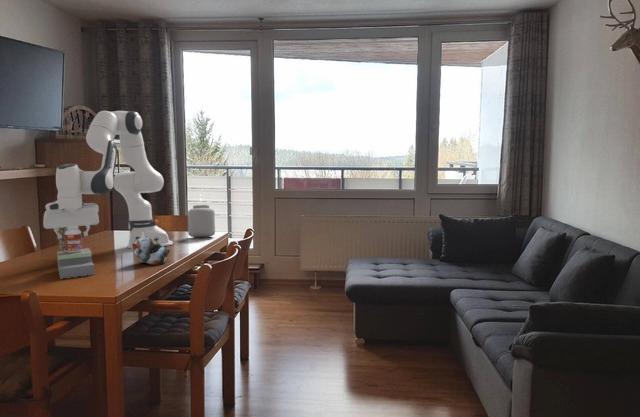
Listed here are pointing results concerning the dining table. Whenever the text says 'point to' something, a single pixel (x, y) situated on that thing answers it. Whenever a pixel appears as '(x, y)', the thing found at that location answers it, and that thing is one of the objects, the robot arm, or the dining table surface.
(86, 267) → the stepped stand
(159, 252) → the blue-grey lumpy figure
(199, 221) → the jar
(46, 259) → the dining table surface
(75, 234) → the pill bottle
